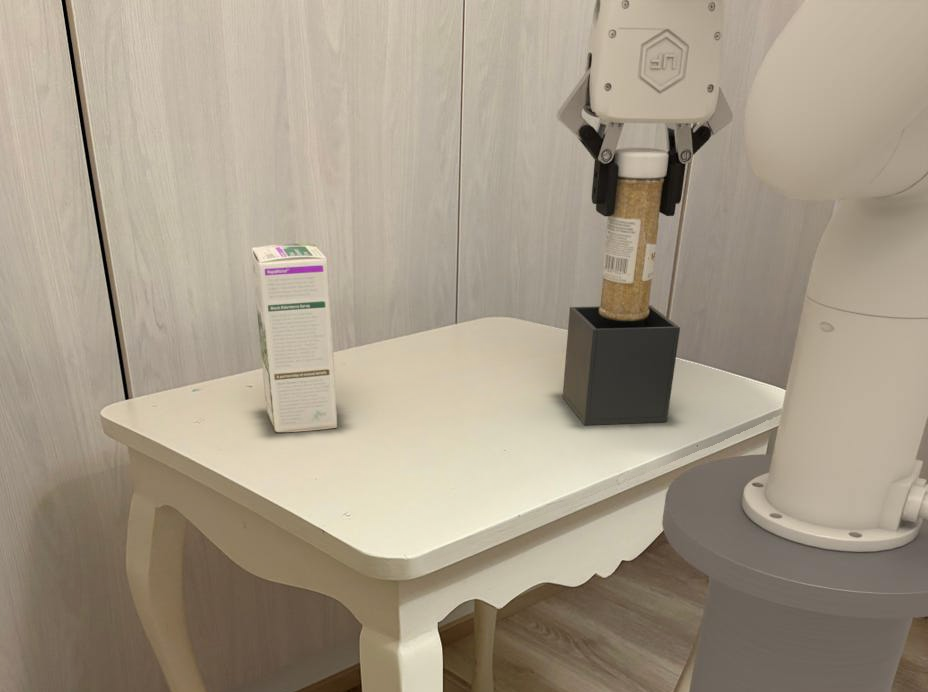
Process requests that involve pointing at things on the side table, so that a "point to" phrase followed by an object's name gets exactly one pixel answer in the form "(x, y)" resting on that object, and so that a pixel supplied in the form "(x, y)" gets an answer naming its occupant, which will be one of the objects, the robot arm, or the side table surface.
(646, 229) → the sprinkles bottle
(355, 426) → the side table surface
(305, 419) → the syrup box
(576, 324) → the dark grey open box
